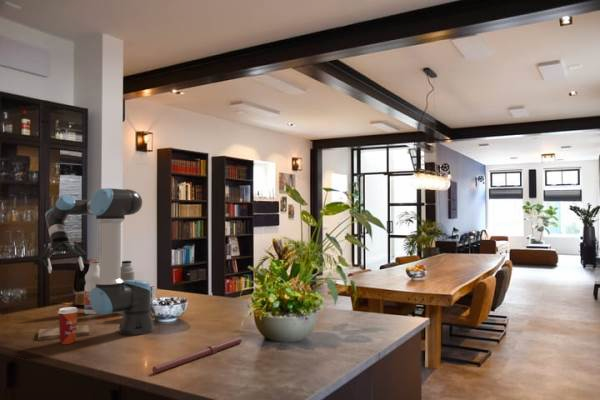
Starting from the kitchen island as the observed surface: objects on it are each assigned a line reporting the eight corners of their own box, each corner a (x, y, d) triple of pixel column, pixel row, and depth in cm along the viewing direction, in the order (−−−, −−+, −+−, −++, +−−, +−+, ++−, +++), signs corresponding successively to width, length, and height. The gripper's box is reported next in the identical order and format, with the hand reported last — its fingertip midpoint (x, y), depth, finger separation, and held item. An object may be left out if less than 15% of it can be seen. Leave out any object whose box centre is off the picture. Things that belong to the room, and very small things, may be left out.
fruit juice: (107, 311, 260) (107, 260, 261) (94, 315, 251) (94, 261, 252) (93, 310, 263) (94, 259, 264) (80, 313, 254) (80, 261, 255)
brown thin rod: (236, 343, 200) (236, 335, 200) (242, 344, 198) (242, 336, 198) (151, 374, 162) (151, 364, 162) (157, 375, 160) (157, 366, 160)
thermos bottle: (125, 315, 251) (126, 262, 252) (114, 313, 255) (115, 261, 255) (137, 312, 258) (137, 260, 259) (126, 311, 262) (127, 259, 262)
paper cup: (69, 345, 195) (70, 310, 195) (53, 344, 197) (53, 310, 197) (82, 340, 203) (82, 307, 203) (66, 339, 204) (66, 306, 205)
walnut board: (88, 328, 224) (88, 324, 224) (89, 335, 211) (89, 331, 211) (39, 332, 215) (39, 329, 215) (37, 340, 202) (37, 336, 202)
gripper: (84, 240, 240) (93, 273, 228) (28, 241, 224) (34, 277, 212) (87, 229, 236) (97, 263, 224) (30, 231, 220) (37, 266, 208)
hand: (66, 270), depth 218 cm, fingers open, 13 cm apart
